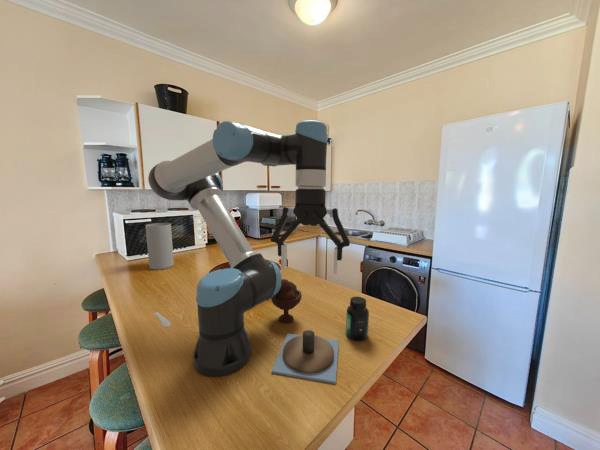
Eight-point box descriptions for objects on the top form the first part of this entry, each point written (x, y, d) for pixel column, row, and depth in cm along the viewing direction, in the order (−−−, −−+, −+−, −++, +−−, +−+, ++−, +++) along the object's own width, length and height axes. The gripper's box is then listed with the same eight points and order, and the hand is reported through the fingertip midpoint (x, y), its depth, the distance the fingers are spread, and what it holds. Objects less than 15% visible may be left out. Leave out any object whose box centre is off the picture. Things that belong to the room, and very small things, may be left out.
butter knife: (162, 328, 78) (172, 324, 81) (139, 302, 97) (147, 299, 99) (162, 329, 79) (172, 325, 81) (139, 303, 97) (147, 301, 99)
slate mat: (271, 372, 60) (271, 370, 60) (287, 335, 76) (287, 333, 76) (335, 384, 57) (335, 381, 57) (338, 342, 72) (338, 340, 72)
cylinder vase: (154, 263, 145) (151, 223, 141) (176, 262, 147) (173, 222, 143) (145, 270, 133) (141, 226, 129) (169, 269, 135) (166, 226, 131)
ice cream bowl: (298, 329, 79) (298, 286, 76) (266, 325, 81) (265, 283, 79) (304, 313, 89) (304, 274, 87) (275, 310, 91) (275, 272, 89)
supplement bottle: (346, 340, 73) (347, 304, 71) (345, 328, 80) (346, 294, 78) (369, 343, 72) (371, 305, 70) (366, 329, 79) (368, 295, 77)
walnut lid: (276, 368, 61) (276, 346, 60) (289, 335, 74) (289, 317, 73) (331, 377, 58) (332, 354, 57) (335, 341, 72) (335, 322, 71)
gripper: (361, 188, 60) (357, 269, 64) (267, 187, 65) (268, 262, 69) (363, 188, 53) (358, 279, 56) (257, 187, 58) (258, 270, 61)
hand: (309, 270), depth 63 cm, fingers open, 13 cm apart
